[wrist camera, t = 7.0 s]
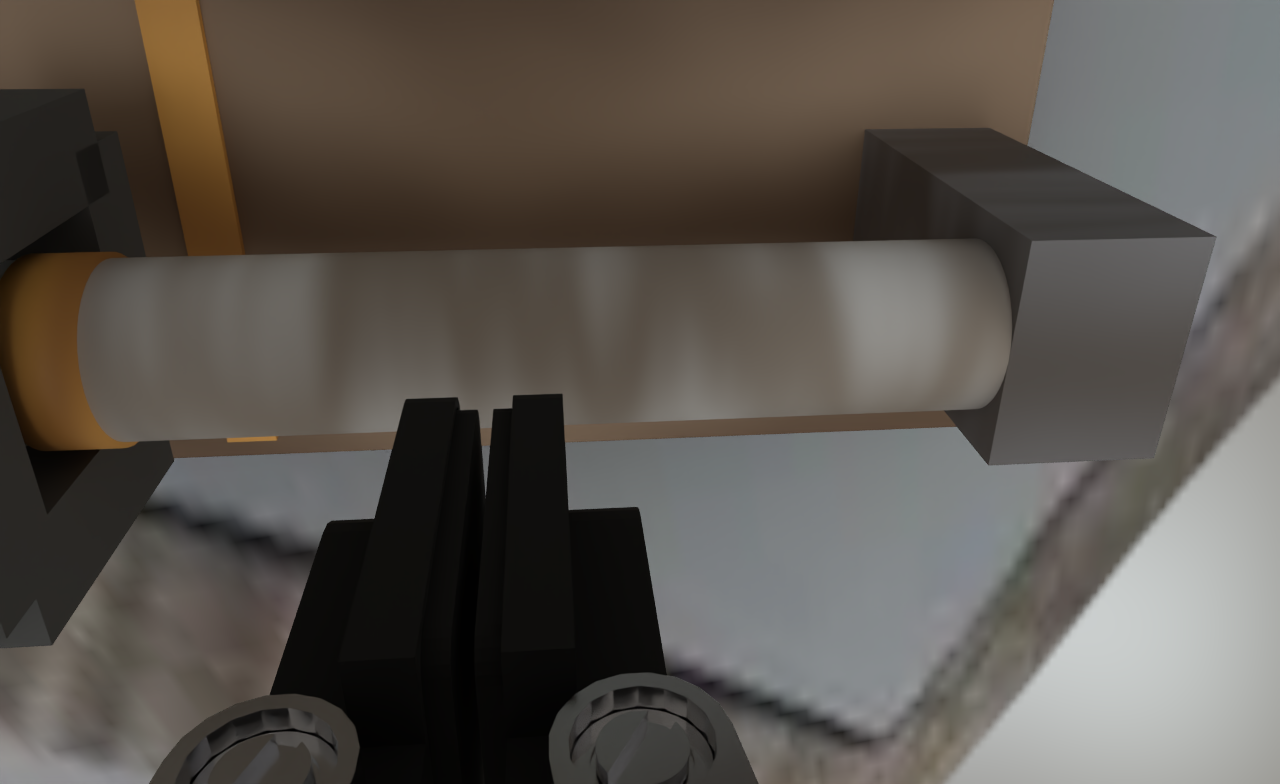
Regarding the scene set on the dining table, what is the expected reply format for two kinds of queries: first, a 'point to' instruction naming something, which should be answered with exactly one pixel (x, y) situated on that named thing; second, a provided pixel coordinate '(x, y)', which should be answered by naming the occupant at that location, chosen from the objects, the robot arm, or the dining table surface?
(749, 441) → the dining table surface
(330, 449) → the pipe rig
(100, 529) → the collar
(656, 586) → the dining table surface
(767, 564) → the dining table surface
